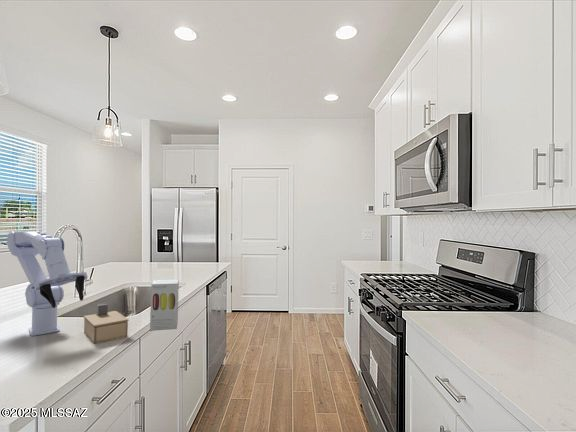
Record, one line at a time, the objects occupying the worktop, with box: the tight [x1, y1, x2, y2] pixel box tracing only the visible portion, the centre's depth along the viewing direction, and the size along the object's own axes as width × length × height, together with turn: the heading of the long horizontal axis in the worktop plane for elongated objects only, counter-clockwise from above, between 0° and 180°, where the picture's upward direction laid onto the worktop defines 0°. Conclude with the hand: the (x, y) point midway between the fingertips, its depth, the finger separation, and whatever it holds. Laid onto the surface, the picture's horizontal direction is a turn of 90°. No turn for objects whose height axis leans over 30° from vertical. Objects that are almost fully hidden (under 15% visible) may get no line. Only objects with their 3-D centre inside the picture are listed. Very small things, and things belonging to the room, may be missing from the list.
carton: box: [83, 318, 129, 345], centre depth 115 cm, size 14×10×5 cm
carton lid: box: [83, 303, 129, 327], centre depth 115 cm, size 14×10×4 cm
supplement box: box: [149, 278, 180, 332], centre depth 125 cm, size 10×9×17 cm
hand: (68, 302), depth 108 cm, fingers open, 7 cm apart
